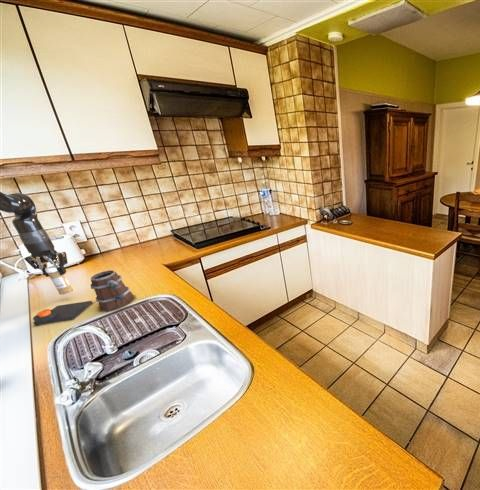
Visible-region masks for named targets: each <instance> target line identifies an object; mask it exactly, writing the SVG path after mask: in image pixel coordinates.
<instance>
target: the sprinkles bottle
mask: <svg viewBox="0 0 480 490" xmlns="http://www.w3.org/2000/svg"><path fill="white" fill-rule="evenodd" d="M45 271H46V273H47V274H48V275H49V277H48V278H50V280H51V282H52V285H54V287H55V289H56V290H57V292H58V294H59V295H62V296H63V295H67V294H70V293H71V292H73V291H74V289H73V288H72V286H71V283H70V282H69V280H68V279H67V277H66V274H64V275H60V274H59V272H58V270H57V267H55V266H54V265H50V266H47V268H45Z"/></svg>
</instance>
